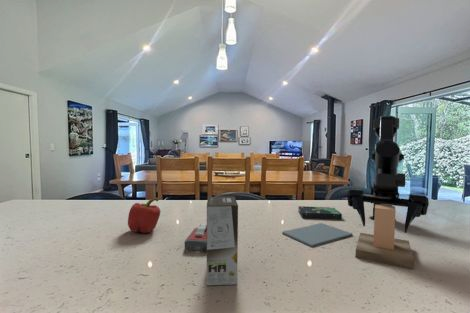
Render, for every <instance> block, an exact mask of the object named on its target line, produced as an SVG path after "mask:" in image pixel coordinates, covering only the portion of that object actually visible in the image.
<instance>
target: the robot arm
mask: <svg viewBox="0 0 470 313" xmlns="http://www.w3.org/2000/svg"><path fill="white" fill-rule="evenodd" d="M372 128H373V130H375V136H376V138H377V140H378V142H377V143H375V144H374V146H375V148H374V150H372V153H371V161H372V162H374V165H375V167H374V181H373V182H372V183H373V184H372V186H370V194H366V193H365V194H364V189H359V188H349V189H348V190H347V194H346V196H347V205H348V206H349V207H352V209H353V210H356V211H357V213H358V215H359V217H360V221H361V223H362V226H363V227H366V212H365V203H370V204H373V207H372V215H371V216H369V219H371V220H374V217H375V204H378V205H387V206H395V207H404V208H407V210H406V215H405V222H404V233H405V234H406V233H407V232H408V230H409V228H410V226H411V224H412V222H414V220H415V218H419V217H421V216H426V215H427V212H428V208H429V204H430V203H429V198H428V196H427V195H426V194H425V195H424V194H413V193H409V194H408V198H400V192H399V188H405V187H406V173H398V167H399V163H401V161H402V160H404V159H405V154H403V153H402V150H401V149H400V147H399V144H398V143H397V142H395V141H394V137H396V135H397V130H399V129H400V118H399V117H396V116H393V115H380V116H379V117H376V118H373V127H372ZM396 221H397V219H396V218H395V222H396Z"/></svg>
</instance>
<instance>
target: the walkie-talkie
mask: <svg viewBox="0 0 470 313" xmlns="http://www.w3.org/2000/svg"><path fill="white" fill-rule="evenodd" d="M185 250H187V251H186V252H195V251H200V253H207V224H200V225H199V226H197V227H196V228H193V229H192V232H190V233H189V235H188V237H187V238H186V239H185V240H184V251H185Z"/></svg>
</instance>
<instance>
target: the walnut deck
mask: <svg viewBox="0 0 470 313" xmlns="http://www.w3.org/2000/svg"><path fill="white" fill-rule="evenodd" d="M373 244H374V234H372V233H363V232H359V236H358V239H357V243H356V247H355V258H359V259H363V260H367V261H372V262H376V263H377V262H378V263H382V264H386V265H391V266H396V267H401V268H405V269H409V270H414V269H415V258H414V256H413V251H412V247H411V244H410V240H406V239H401V238H396V237H394V250H393V249H387V248H382V247H376V246H373Z"/></svg>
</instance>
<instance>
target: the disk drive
mask: <svg viewBox="0 0 470 313" xmlns="http://www.w3.org/2000/svg"><path fill="white" fill-rule="evenodd" d="M297 210H298V213H299V215H300V217H301V218H302V219H313V220H337V221H342V220H343V219H342V218H343V214H342V212H340V211H339V210H337V209H336V208H335V207H328V206H327V207H326V206H325V207H324V206H303V205H301V206H298V209H297Z"/></svg>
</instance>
